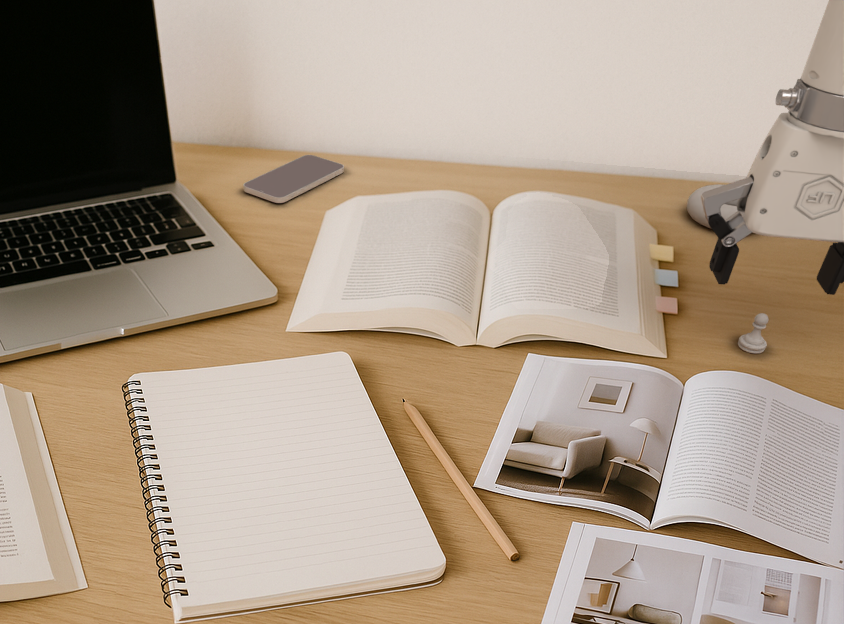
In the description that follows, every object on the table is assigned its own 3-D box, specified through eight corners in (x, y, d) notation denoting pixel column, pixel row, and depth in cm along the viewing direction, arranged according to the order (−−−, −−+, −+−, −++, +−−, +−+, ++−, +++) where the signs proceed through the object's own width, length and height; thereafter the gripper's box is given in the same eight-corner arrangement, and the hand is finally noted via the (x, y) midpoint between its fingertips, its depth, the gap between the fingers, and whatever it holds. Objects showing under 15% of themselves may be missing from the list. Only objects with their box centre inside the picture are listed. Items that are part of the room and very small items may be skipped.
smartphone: (347, 165, 122) (280, 199, 112) (347, 171, 122) (280, 205, 113) (307, 153, 125) (239, 184, 116) (307, 159, 126) (239, 191, 116)
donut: (678, 201, 114) (688, 233, 106) (685, 177, 112) (696, 207, 104) (758, 208, 112) (774, 241, 104) (766, 184, 110) (784, 215, 102)
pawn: (736, 350, 85) (749, 317, 83) (737, 337, 87) (749, 304, 85) (765, 356, 84) (778, 323, 82) (764, 343, 86) (777, 310, 84)
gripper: (745, 114, 69) (685, 293, 79) (974, 130, 67) (882, 312, 77) (723, 86, 75) (670, 256, 85) (932, 100, 73) (853, 272, 83)
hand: (771, 282), depth 81 cm, fingers open, 9 cm apart
